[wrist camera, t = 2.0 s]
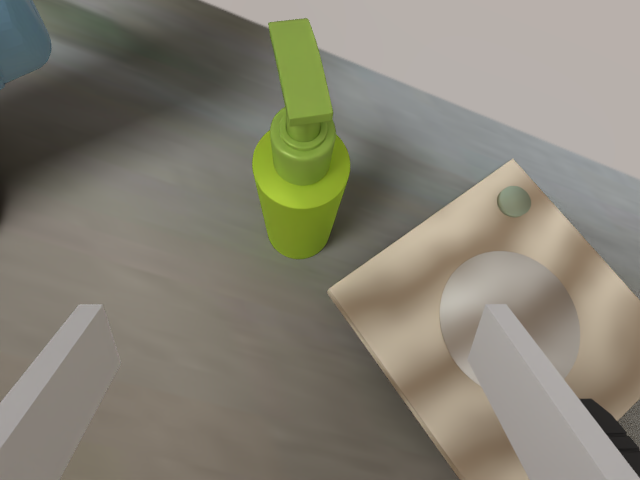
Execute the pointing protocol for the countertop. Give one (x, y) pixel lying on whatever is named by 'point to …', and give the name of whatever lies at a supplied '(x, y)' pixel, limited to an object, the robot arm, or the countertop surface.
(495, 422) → the stand
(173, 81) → the countertop surface
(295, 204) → the soap dispenser
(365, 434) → the countertop surface
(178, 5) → the countertop surface
